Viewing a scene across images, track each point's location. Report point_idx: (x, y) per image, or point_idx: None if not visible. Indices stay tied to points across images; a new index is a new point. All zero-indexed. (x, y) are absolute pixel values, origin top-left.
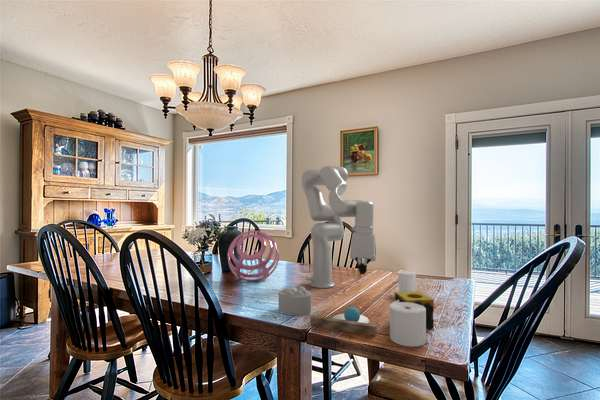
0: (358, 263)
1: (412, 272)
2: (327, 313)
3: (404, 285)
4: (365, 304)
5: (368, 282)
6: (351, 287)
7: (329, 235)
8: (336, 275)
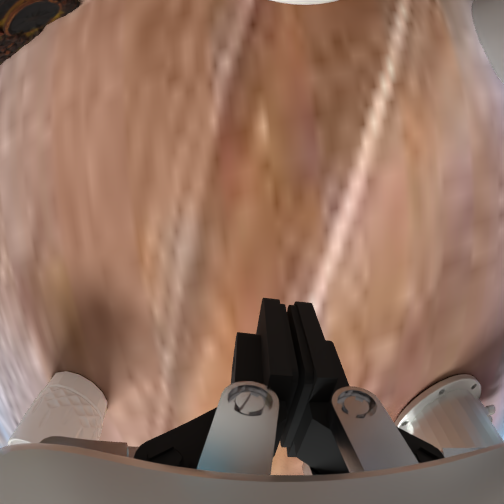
0: (370, 403)
1: None
2: (414, 7)
3: (59, 404)
4: (237, 188)
5: None
6: None
7: None
8: None
